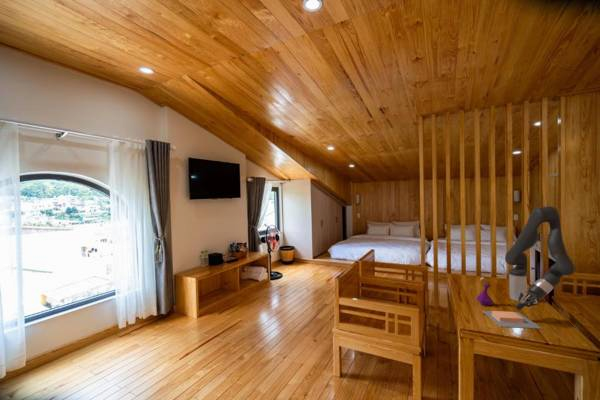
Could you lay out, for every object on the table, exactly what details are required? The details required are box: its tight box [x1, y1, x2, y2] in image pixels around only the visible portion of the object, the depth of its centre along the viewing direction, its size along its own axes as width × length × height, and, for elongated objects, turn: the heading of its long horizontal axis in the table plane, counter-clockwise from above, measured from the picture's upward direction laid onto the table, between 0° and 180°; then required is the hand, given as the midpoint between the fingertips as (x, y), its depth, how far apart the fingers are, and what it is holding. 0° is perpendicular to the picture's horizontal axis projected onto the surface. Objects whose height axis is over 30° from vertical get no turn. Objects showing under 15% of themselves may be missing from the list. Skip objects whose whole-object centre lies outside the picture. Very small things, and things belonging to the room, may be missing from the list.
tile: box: [492, 310, 524, 323], centre depth 153 cm, size 9×2×12 cm
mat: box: [482, 310, 543, 330], centre depth 153 cm, size 20×20×1 cm
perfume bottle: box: [476, 276, 494, 307], centre depth 176 cm, size 8×8×18 cm
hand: (517, 308), depth 152 cm, fingers closed
